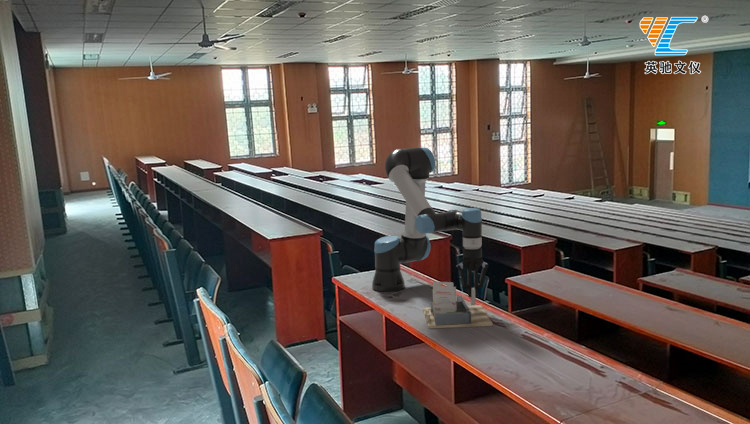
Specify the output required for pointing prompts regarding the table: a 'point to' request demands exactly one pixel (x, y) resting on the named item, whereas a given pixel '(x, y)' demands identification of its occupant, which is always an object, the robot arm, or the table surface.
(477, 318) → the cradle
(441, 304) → the ink box
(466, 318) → the housing
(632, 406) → the table surface
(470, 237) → the robot arm
